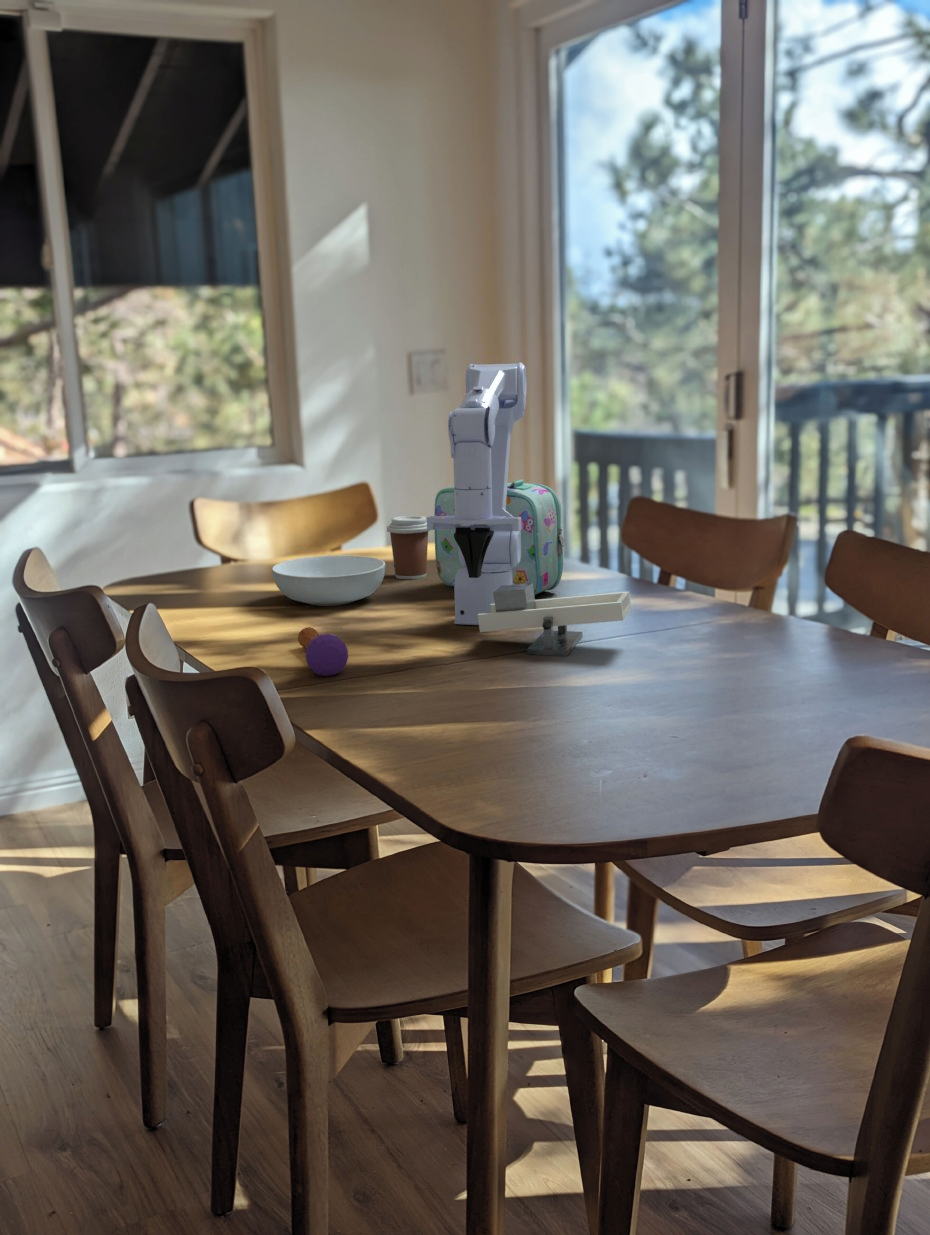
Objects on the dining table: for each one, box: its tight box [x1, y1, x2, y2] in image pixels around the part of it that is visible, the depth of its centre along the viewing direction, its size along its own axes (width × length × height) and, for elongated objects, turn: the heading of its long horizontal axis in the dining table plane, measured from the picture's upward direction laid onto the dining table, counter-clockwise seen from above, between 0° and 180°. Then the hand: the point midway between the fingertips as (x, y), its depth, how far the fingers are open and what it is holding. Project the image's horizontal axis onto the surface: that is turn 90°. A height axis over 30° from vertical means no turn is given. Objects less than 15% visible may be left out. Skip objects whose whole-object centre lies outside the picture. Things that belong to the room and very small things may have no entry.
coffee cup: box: [386, 515, 431, 580], centre depth 232 cm, size 9×9×12 cm
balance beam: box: [478, 591, 632, 633], centre depth 173 cm, size 22×8×3 cm, turn 73°
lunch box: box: [433, 478, 567, 596], centre depth 214 cm, size 27×10×21 cm, turn 50°
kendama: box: [297, 626, 349, 677], centre depth 168 cm, size 6×6×20 cm
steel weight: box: [493, 583, 536, 612], centre depth 175 cm, size 5×5×4 cm
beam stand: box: [526, 617, 583, 657], centre depth 174 cm, size 6×12×6 cm, turn 163°
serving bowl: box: [271, 554, 386, 607], centre depth 211 cm, size 21×21×7 cm
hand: (474, 576), depth 175 cm, fingers closed
